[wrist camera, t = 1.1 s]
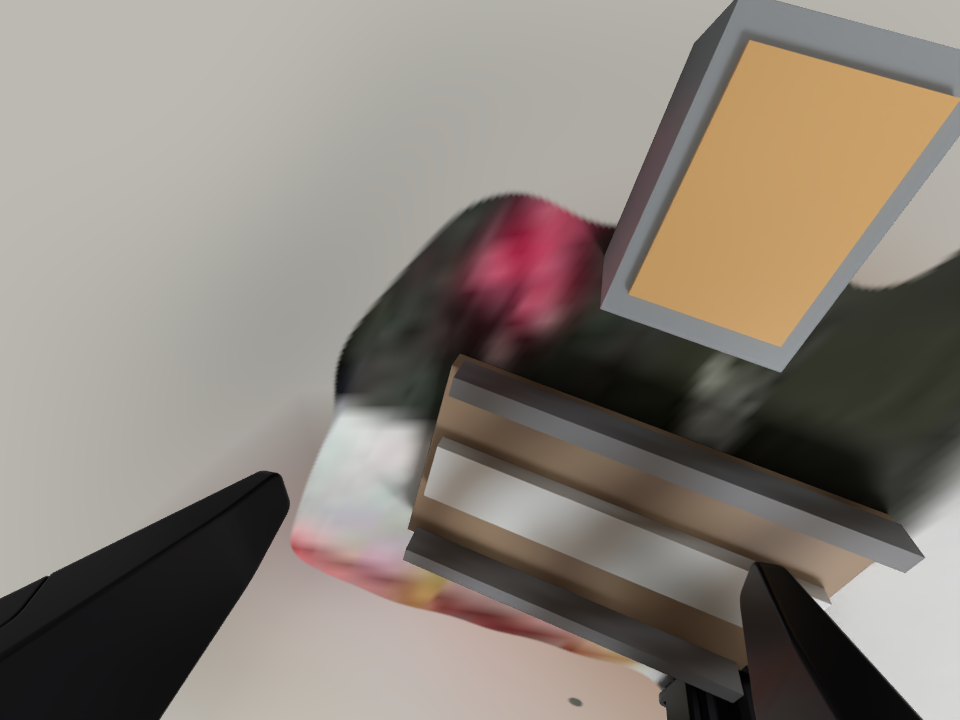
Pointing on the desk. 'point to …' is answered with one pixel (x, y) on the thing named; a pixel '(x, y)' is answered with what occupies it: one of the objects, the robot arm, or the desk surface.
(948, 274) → the desk surface
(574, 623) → the rail board
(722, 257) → the module
